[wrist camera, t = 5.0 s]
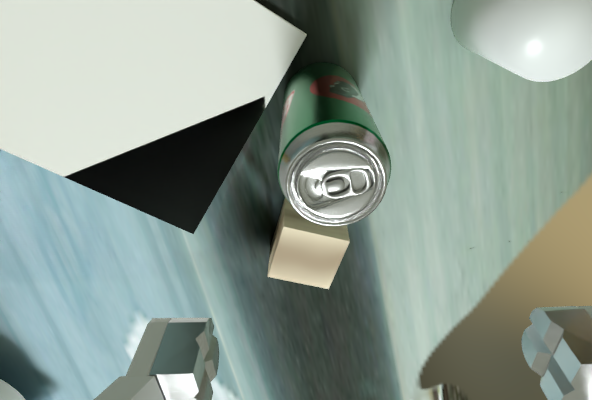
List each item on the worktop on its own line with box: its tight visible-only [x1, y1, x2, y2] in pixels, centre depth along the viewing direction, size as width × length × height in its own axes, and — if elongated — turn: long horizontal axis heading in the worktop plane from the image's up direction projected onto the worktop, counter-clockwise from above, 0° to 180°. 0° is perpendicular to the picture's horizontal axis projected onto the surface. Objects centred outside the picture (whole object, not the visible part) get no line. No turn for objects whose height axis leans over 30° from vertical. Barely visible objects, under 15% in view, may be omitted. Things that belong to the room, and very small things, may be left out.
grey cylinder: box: [451, 0, 592, 82], centre depth 20 cm, size 5×5×7 cm
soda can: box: [278, 62, 391, 226], centre depth 21 cm, size 5×5×12 cm
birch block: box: [268, 198, 350, 289], centre depth 31 cm, size 5×5×4 cm
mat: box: [0, 0, 307, 234], centre depth 26 cm, size 18×18×1 cm
